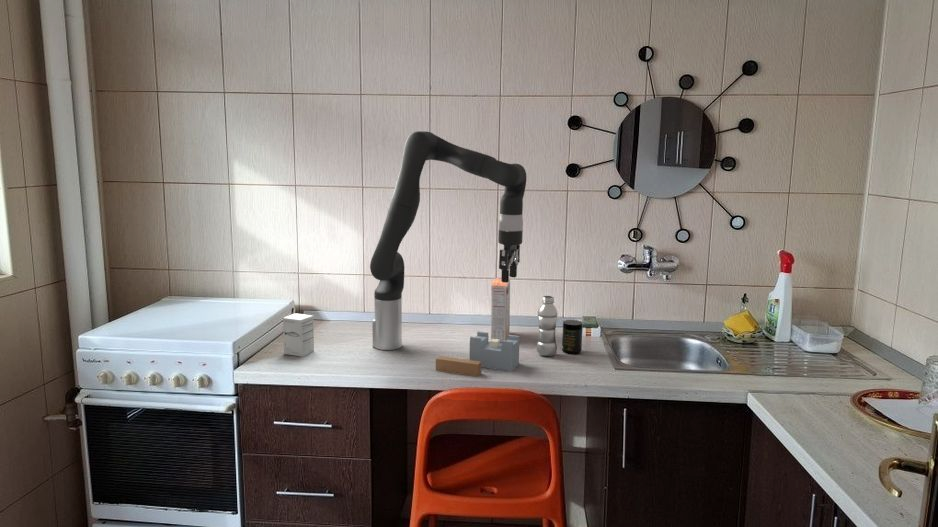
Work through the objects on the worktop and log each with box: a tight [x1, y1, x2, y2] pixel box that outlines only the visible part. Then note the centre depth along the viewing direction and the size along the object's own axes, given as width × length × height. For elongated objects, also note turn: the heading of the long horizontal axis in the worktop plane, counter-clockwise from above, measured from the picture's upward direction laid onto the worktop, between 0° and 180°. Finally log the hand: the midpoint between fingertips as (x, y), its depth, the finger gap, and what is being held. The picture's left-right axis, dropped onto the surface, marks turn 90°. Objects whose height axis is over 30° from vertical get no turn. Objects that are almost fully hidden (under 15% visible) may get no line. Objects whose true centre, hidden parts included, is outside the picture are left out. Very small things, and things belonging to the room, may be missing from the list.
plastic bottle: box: [536, 295, 558, 357], centre depth 228 cm, size 6×7×20 cm
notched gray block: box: [468, 330, 520, 372], centre depth 219 cm, size 14×8×9 cm, turn 69°
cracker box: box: [490, 277, 511, 343], centre depth 248 cm, size 14×6×21 cm, turn 172°
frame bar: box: [435, 355, 482, 377], centre depth 212 cm, size 14×3×4 cm, turn 68°
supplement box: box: [282, 313, 315, 358], centre depth 228 cm, size 7×7×13 cm
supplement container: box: [561, 319, 584, 356], centre depth 233 cm, size 7×7×10 cm
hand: (509, 279), depth 216 cm, fingers open, 8 cm apart
